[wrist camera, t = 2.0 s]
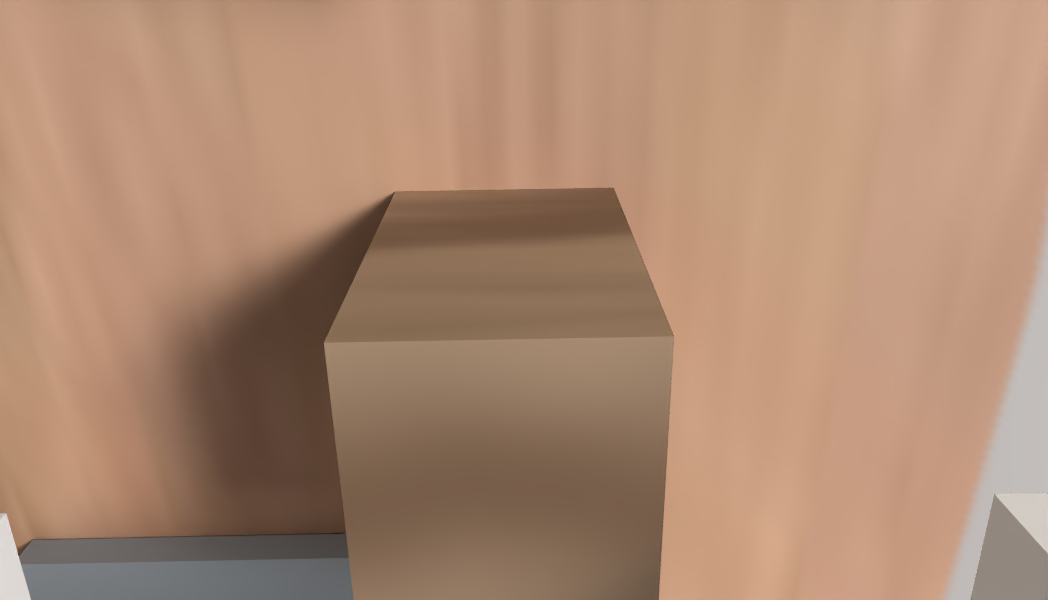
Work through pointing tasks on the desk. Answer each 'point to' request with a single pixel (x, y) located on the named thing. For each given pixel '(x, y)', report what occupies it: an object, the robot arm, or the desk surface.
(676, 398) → the desk surface
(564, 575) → the block
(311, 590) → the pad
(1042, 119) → the desk surface
